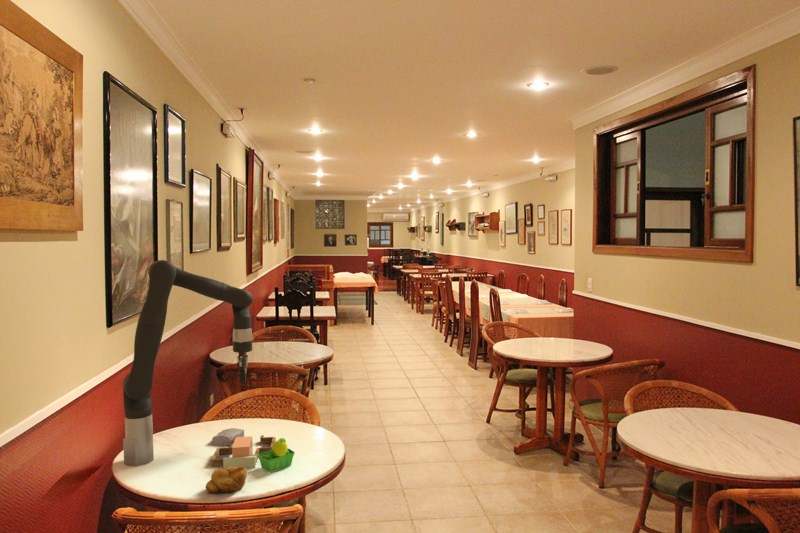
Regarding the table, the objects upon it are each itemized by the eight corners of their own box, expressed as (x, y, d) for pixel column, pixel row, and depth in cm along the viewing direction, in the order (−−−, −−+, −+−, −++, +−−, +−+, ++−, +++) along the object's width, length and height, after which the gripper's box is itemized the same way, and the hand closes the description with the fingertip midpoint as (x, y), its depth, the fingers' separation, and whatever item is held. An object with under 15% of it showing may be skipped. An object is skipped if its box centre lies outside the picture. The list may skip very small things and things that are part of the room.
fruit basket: (284, 459, 211) (283, 429, 211) (298, 466, 205) (297, 435, 204) (256, 468, 203) (256, 437, 203) (270, 476, 197) (269, 444, 196)
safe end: (223, 468, 204) (223, 457, 203) (255, 466, 205) (255, 456, 205) (223, 469, 203) (223, 458, 202) (255, 468, 204) (254, 457, 204)
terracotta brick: (236, 456, 215) (235, 437, 215) (252, 455, 216) (252, 436, 216) (232, 468, 204) (232, 447, 204) (249, 467, 205) (249, 446, 205)
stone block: (210, 449, 227) (233, 446, 226) (208, 437, 228) (231, 434, 226) (225, 440, 239) (246, 436, 237) (222, 428, 239) (244, 425, 238)
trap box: (223, 443, 229) (222, 437, 229) (276, 440, 231) (276, 434, 231) (209, 469, 203) (209, 462, 203) (269, 466, 205) (269, 459, 205)
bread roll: (205, 498, 181) (205, 473, 180) (205, 486, 190) (204, 462, 189) (247, 492, 185) (247, 467, 184) (245, 480, 194) (244, 457, 194)
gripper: (235, 336, 234) (235, 378, 234) (230, 342, 221) (230, 386, 221) (254, 336, 235) (254, 378, 235) (250, 342, 222) (250, 386, 222)
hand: (242, 382), depth 228 cm, fingers closed
